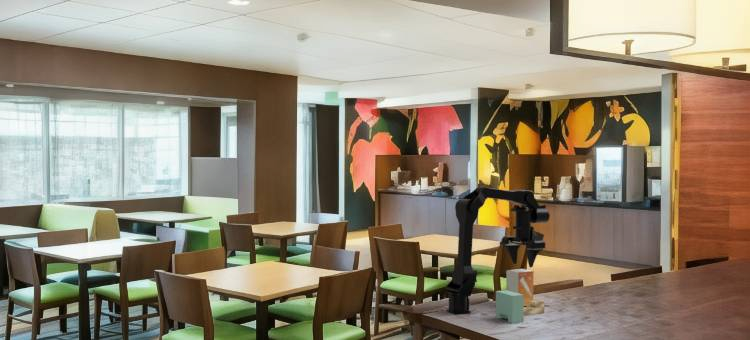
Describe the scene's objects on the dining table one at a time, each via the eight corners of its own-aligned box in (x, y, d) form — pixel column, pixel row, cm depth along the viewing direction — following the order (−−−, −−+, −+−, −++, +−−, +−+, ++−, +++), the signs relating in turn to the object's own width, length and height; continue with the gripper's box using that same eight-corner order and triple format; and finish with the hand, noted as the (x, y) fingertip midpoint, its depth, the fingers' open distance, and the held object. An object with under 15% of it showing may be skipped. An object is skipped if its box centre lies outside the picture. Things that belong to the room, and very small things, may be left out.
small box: (518, 308, 236) (518, 272, 236) (505, 305, 241) (505, 270, 241) (533, 305, 240) (534, 270, 240) (521, 302, 246) (521, 268, 246)
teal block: (512, 323, 213) (512, 295, 213) (495, 317, 221) (495, 291, 221) (523, 322, 215) (523, 294, 215) (506, 316, 223) (506, 290, 223)
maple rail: (512, 316, 223) (512, 304, 223) (506, 314, 225) (506, 303, 225) (544, 312, 229) (544, 301, 229) (538, 311, 231) (538, 299, 231)
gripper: (557, 224, 237) (556, 267, 237) (524, 221, 253) (523, 261, 253) (533, 225, 232) (532, 269, 232) (500, 221, 248) (500, 262, 248)
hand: (522, 265), depth 241 cm, fingers open, 9 cm apart
